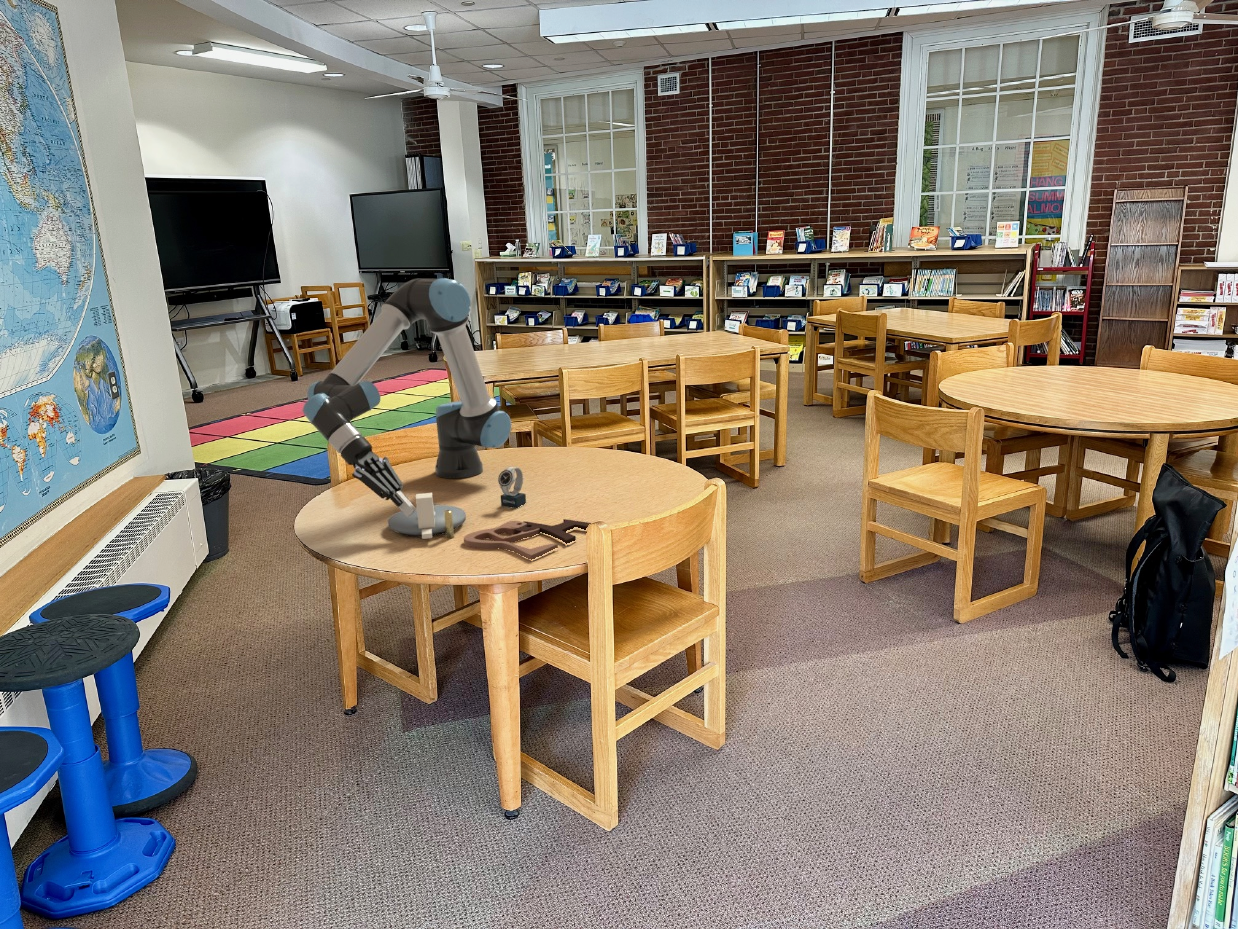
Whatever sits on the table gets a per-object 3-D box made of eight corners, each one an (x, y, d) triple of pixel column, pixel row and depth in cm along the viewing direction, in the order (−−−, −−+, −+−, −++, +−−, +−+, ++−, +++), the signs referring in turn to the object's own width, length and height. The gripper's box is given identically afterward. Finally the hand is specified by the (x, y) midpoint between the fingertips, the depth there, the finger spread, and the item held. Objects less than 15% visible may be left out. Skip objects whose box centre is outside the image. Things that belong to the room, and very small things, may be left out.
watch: (496, 507, 236) (494, 470, 233) (514, 500, 243) (511, 463, 240) (513, 510, 233) (510, 472, 230) (529, 502, 240) (527, 465, 237)
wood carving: (603, 532, 215) (537, 515, 230) (602, 524, 215) (537, 508, 229) (525, 566, 195) (458, 545, 209) (524, 558, 194) (457, 537, 209)
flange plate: (390, 513, 229) (387, 480, 227) (464, 506, 233) (461, 474, 231) (385, 542, 207) (381, 507, 205) (467, 534, 211) (464, 499, 209)
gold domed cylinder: (449, 535, 215) (447, 509, 213) (455, 536, 214) (453, 510, 212) (444, 538, 213) (442, 511, 211) (450, 539, 212) (448, 512, 211)
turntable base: (424, 513, 233) (423, 510, 232) (470, 521, 225) (470, 517, 225) (383, 532, 219) (383, 528, 219) (432, 540, 212) (432, 536, 212)
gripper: (359, 448, 222) (418, 514, 221) (327, 460, 211) (389, 530, 209) (374, 430, 219) (434, 496, 218) (342, 441, 208) (405, 512, 206)
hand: (412, 513), depth 214 cm, fingers closed
